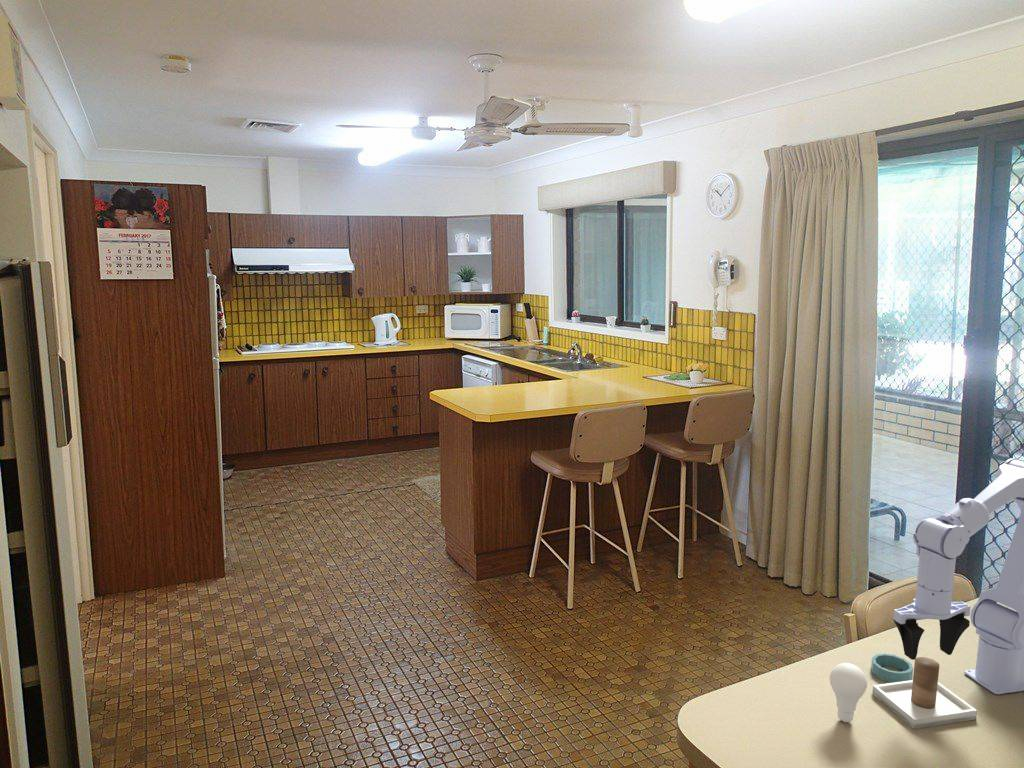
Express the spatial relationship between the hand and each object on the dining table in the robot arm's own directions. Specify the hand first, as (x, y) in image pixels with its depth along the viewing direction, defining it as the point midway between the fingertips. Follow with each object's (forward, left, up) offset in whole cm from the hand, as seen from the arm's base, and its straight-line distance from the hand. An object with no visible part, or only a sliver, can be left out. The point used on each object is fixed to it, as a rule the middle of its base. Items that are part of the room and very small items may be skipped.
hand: (927, 654), depth 139 cm
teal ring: (-2, -11, -10) cm, 15 cm away
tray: (0, 0, -10) cm, 10 cm away
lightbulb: (+17, +1, -11) cm, 20 cm away
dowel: (0, 0, -10) cm, 10 cm away
